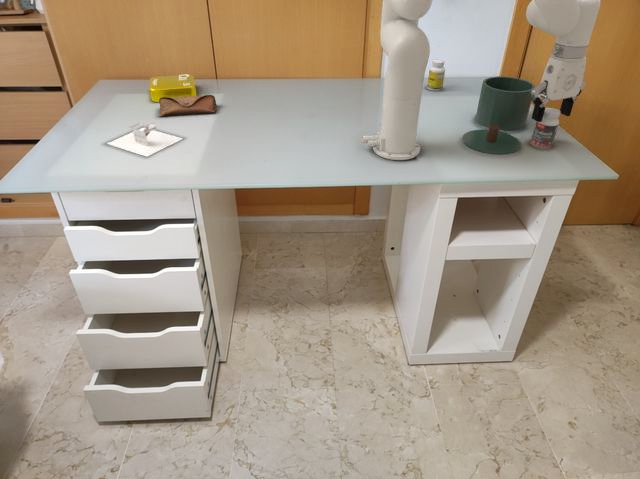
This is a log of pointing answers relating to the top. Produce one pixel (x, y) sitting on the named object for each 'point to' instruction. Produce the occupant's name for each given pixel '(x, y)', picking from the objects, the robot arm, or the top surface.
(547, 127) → the pill bottle
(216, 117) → the top surface
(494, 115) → the tin
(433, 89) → the supplement bottle
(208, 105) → the sunglasses case
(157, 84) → the yellow plastic box
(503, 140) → the lid
